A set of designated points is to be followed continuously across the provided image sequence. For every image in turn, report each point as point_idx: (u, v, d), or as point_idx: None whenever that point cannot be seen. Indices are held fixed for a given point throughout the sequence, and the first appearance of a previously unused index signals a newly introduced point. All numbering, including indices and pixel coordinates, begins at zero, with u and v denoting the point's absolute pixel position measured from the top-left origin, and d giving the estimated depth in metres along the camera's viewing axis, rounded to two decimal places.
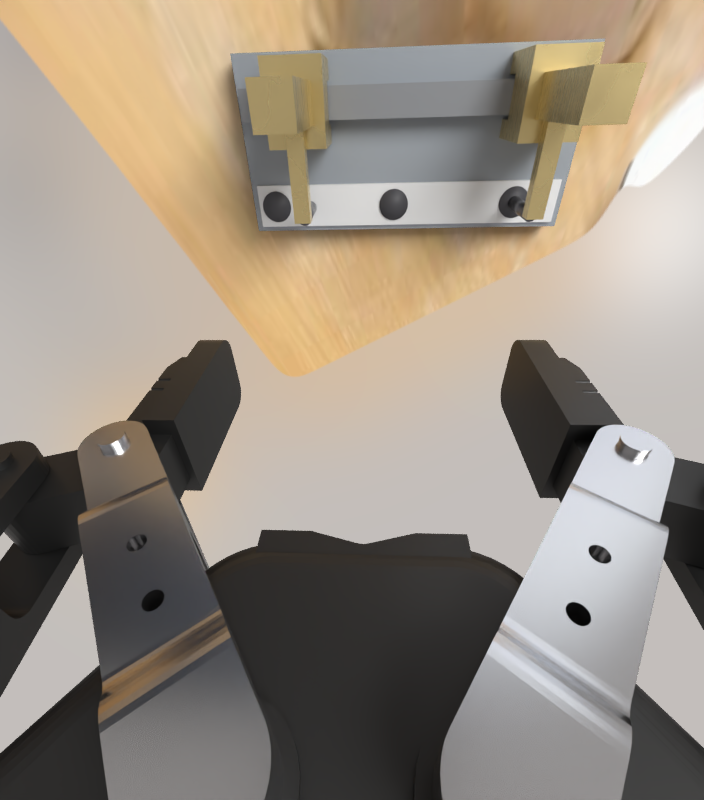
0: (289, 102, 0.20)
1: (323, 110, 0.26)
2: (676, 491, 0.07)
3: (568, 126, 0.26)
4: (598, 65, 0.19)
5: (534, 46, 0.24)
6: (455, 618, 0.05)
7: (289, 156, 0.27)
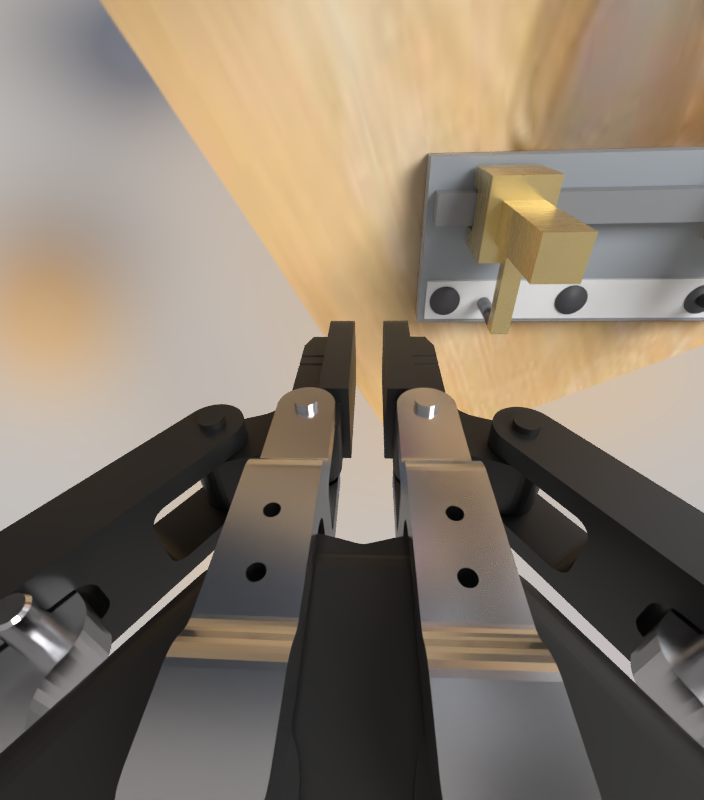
0: (584, 255, 0.18)
1: None
2: None
3: None
4: None
5: None
6: None
7: (505, 273, 0.25)
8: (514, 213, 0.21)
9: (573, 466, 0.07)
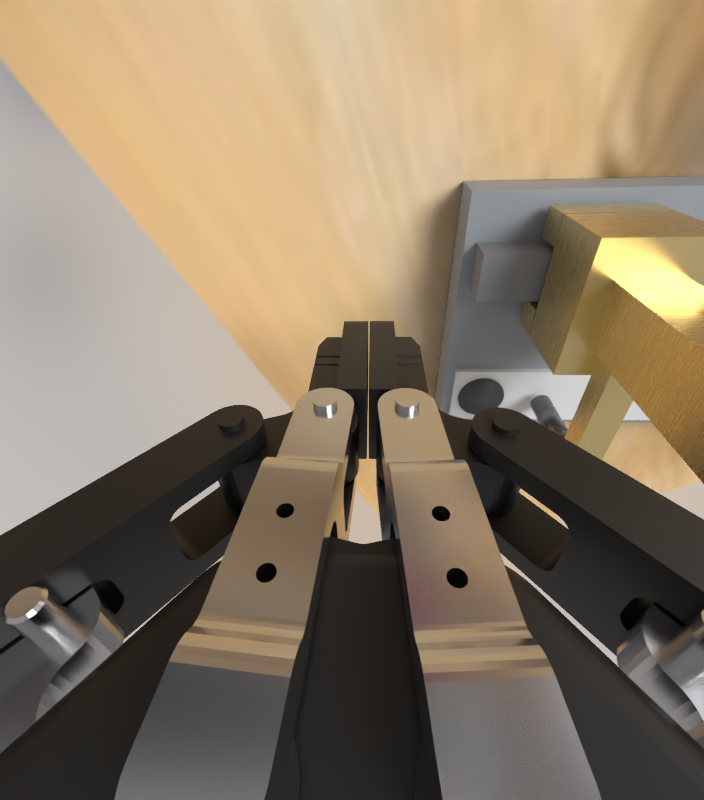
0: None
1: None
2: None
3: None
4: None
5: None
6: None
7: (604, 397, 0.14)
8: (655, 321, 0.11)
9: (553, 465, 0.07)
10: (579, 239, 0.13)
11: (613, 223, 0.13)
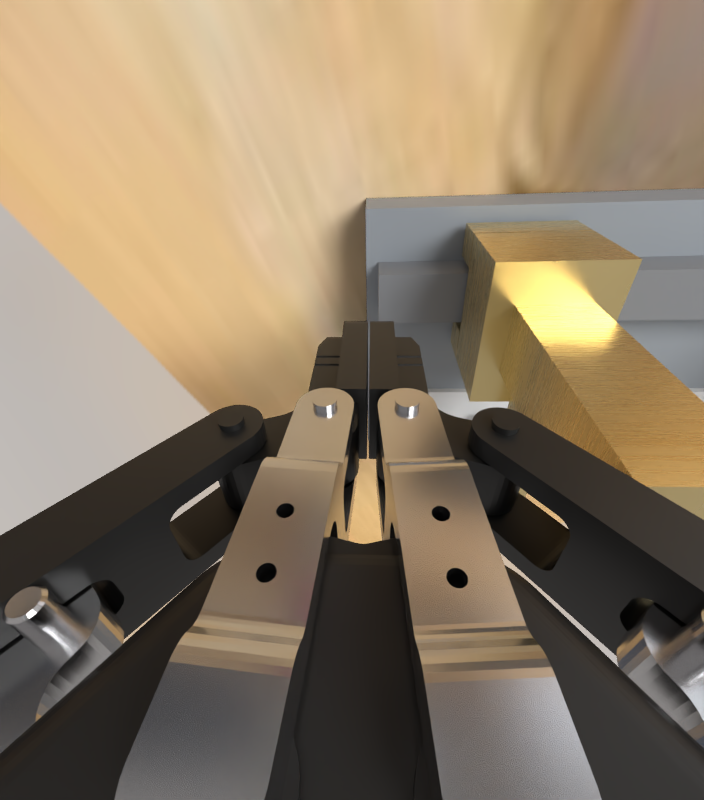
0: None
1: None
2: None
3: None
4: None
5: None
6: None
7: None
8: (541, 354, 0.10)
9: (552, 465, 0.07)
10: (483, 261, 0.12)
11: (518, 244, 0.12)
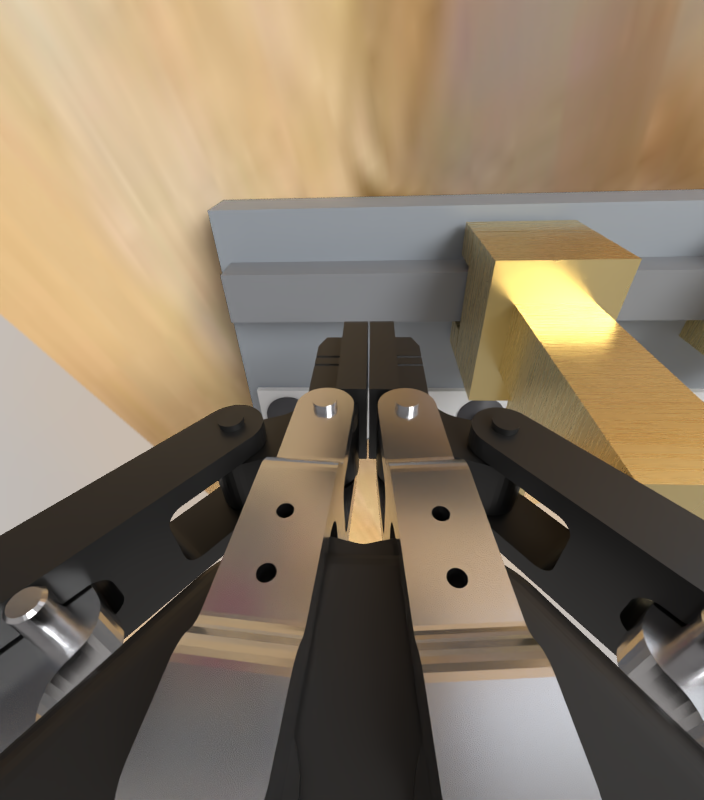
0: None
1: None
2: None
3: None
4: None
5: None
6: None
7: None
8: (541, 352, 0.10)
9: (553, 465, 0.07)
10: (482, 260, 0.12)
11: (518, 243, 0.12)
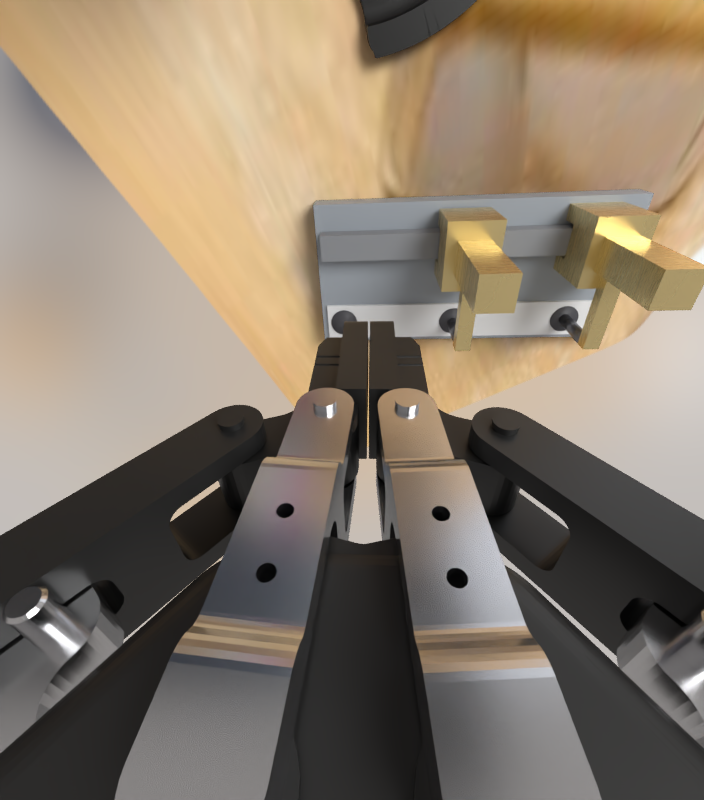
0: (514, 291, 0.23)
1: None
2: None
3: None
4: (669, 270, 0.21)
5: (596, 216, 0.27)
6: None
7: (463, 300, 0.29)
8: (464, 254, 0.26)
9: (553, 465, 0.07)
10: (444, 223, 0.28)
11: (460, 216, 0.28)
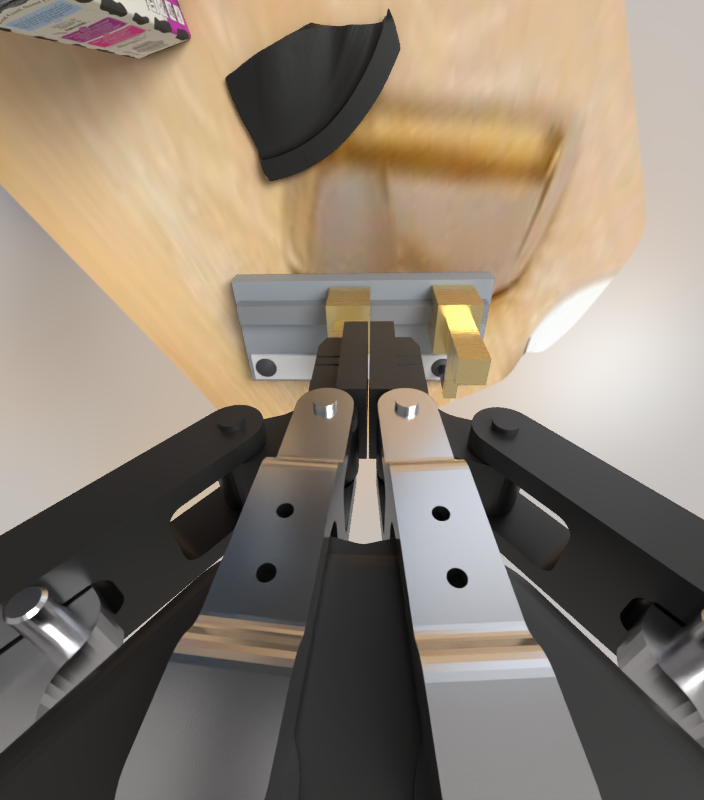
0: None
1: (369, 334, 0.37)
2: None
3: None
4: (461, 360, 0.30)
5: (438, 304, 0.35)
6: None
7: None
8: (333, 334, 0.34)
9: (553, 465, 0.07)
10: None
11: (338, 298, 0.36)
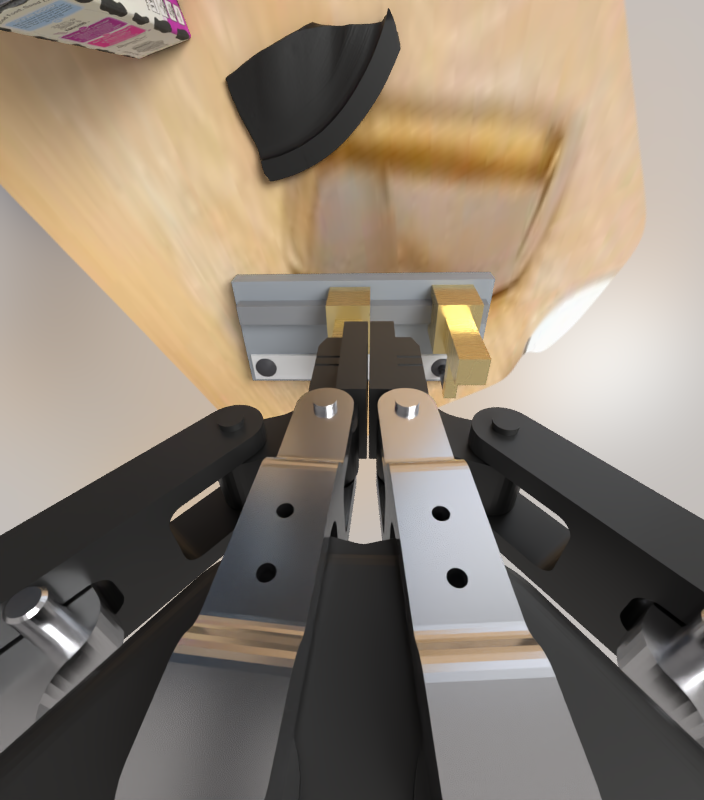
0: None
1: (369, 334, 0.37)
2: None
3: None
4: (461, 360, 0.30)
5: (437, 304, 0.35)
6: None
7: None
8: (332, 334, 0.34)
9: (553, 465, 0.07)
10: None
11: (338, 298, 0.36)
